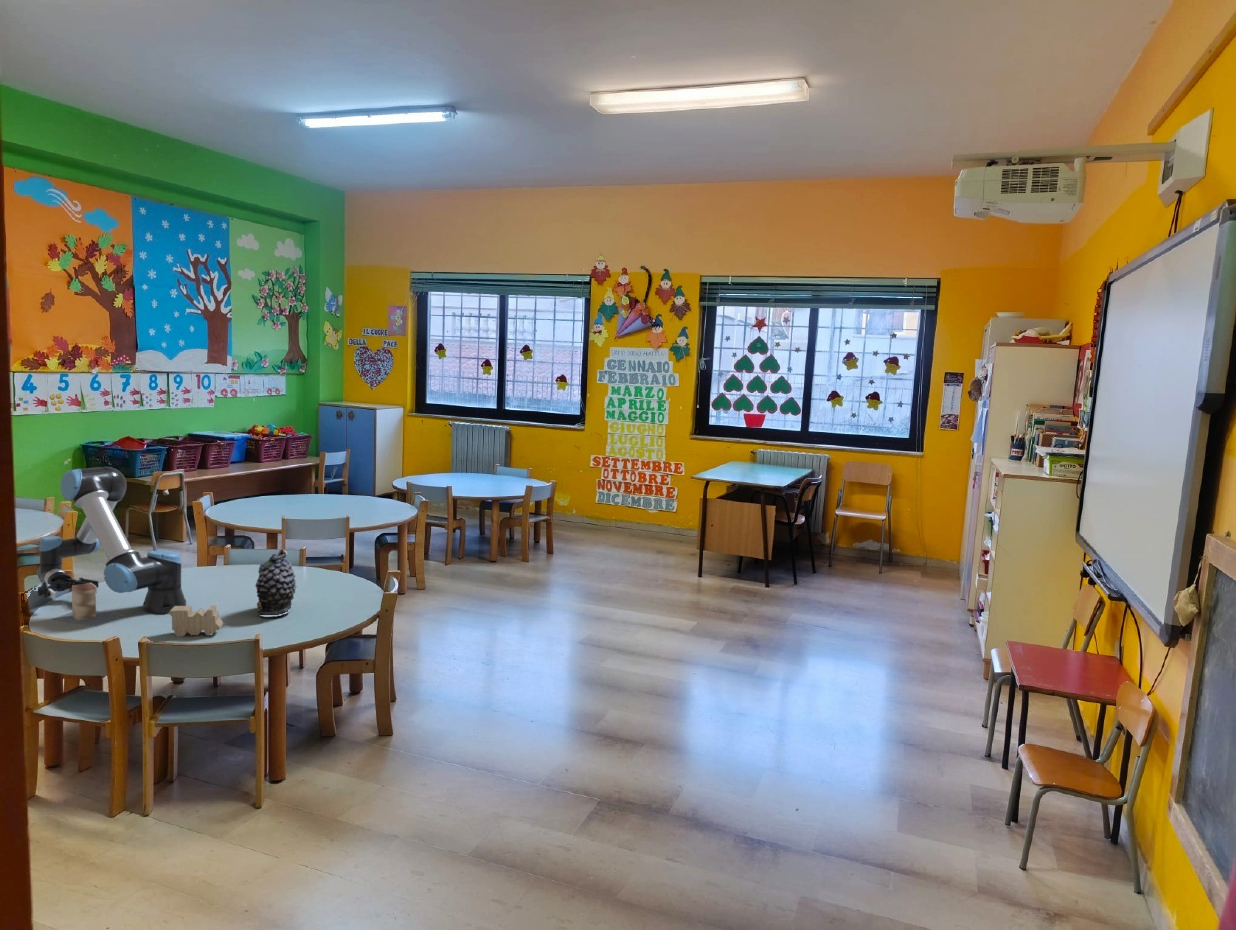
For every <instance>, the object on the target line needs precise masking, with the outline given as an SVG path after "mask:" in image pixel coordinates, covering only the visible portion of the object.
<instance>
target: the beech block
mask: <svg viewBox="0 0 1236 930" xmlns="http://www.w3.org/2000/svg"><path fill="white" fill-rule="evenodd" d="M96 595H97V593H96V587H95V586H94V585H93V584H91V583H86V584H79V585H72V589H71V603H72V604H71V605H72V611H71V612H72V614H73V617H74V618H75V619H77V620H82V619H88V618H94V617H96V611H97V606H96V604H97V602H96V597H97V596H96Z"/></svg>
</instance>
